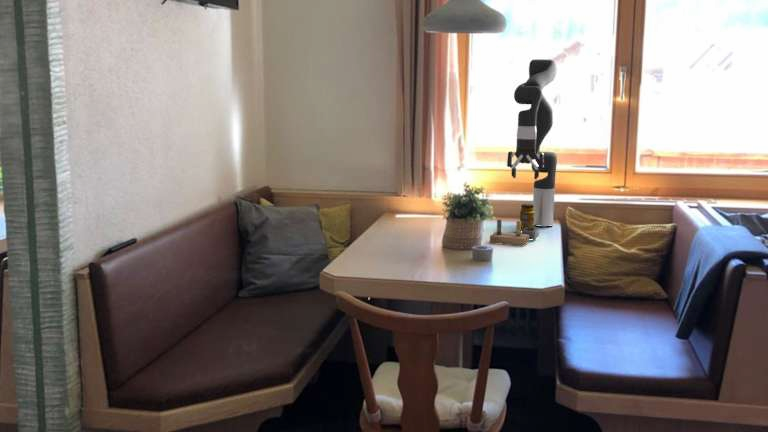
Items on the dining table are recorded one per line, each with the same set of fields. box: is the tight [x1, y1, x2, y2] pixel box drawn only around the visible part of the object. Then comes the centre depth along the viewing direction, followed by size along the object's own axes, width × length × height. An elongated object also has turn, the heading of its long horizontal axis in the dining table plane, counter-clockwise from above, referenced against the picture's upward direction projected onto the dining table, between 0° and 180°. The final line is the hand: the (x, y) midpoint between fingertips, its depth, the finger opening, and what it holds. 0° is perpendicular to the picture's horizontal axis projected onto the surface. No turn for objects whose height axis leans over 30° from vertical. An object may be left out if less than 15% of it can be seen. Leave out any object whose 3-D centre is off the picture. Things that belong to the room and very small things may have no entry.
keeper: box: [489, 218, 530, 246], centre depth 324 cm, size 9×14×9 cm, turn 68°
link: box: [521, 227, 540, 241], centre depth 332 cm, size 8×6×4 cm
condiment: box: [519, 203, 535, 231], centre depth 345 cm, size 7×8×12 cm
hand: (524, 178), depth 318 cm, fingers open, 8 cm apart
